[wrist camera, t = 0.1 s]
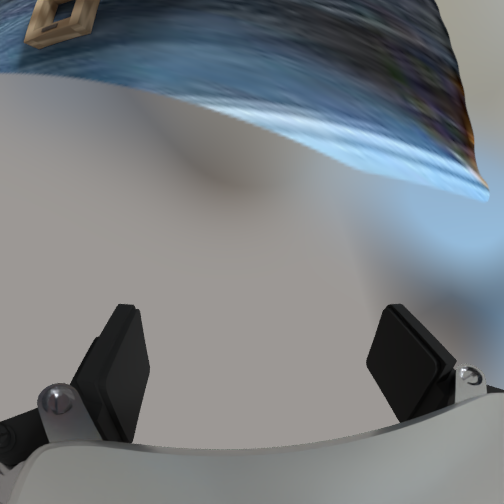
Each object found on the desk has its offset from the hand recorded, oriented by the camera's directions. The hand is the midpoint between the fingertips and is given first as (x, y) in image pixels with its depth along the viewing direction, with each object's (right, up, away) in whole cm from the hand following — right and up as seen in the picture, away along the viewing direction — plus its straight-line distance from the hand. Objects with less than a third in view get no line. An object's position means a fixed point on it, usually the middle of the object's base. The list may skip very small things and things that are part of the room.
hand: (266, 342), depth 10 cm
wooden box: (-31, +42, +15) cm, 54 cm away
